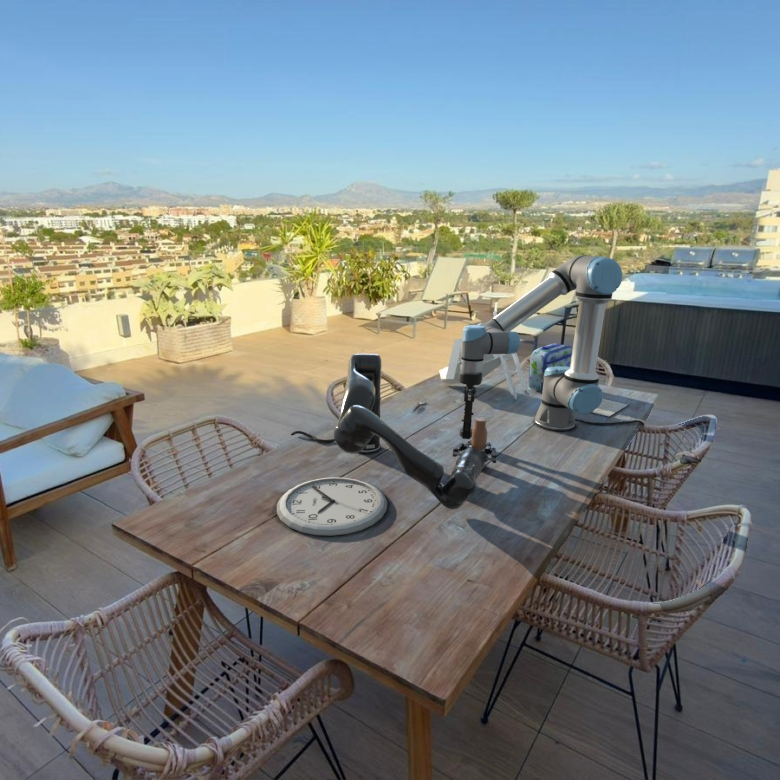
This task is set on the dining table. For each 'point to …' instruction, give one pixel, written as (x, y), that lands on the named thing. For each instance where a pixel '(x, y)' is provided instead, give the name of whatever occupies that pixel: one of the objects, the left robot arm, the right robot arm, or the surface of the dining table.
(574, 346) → the right robot arm
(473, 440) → the bottle
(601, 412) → the invitation card
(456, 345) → the white plastic object
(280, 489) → the dining table surface
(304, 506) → the wall clock
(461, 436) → the cap
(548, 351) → the lunch box
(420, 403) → the fork
